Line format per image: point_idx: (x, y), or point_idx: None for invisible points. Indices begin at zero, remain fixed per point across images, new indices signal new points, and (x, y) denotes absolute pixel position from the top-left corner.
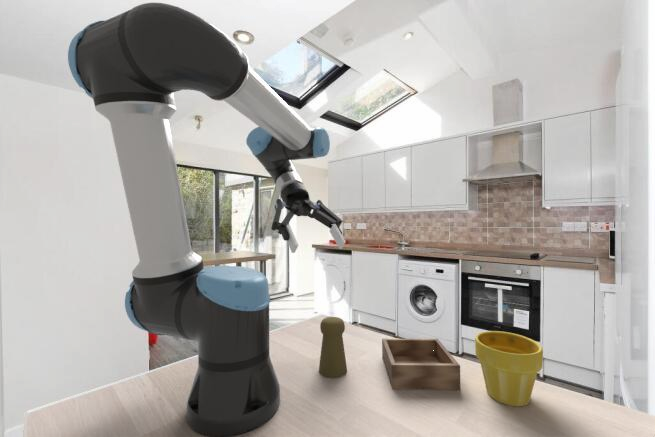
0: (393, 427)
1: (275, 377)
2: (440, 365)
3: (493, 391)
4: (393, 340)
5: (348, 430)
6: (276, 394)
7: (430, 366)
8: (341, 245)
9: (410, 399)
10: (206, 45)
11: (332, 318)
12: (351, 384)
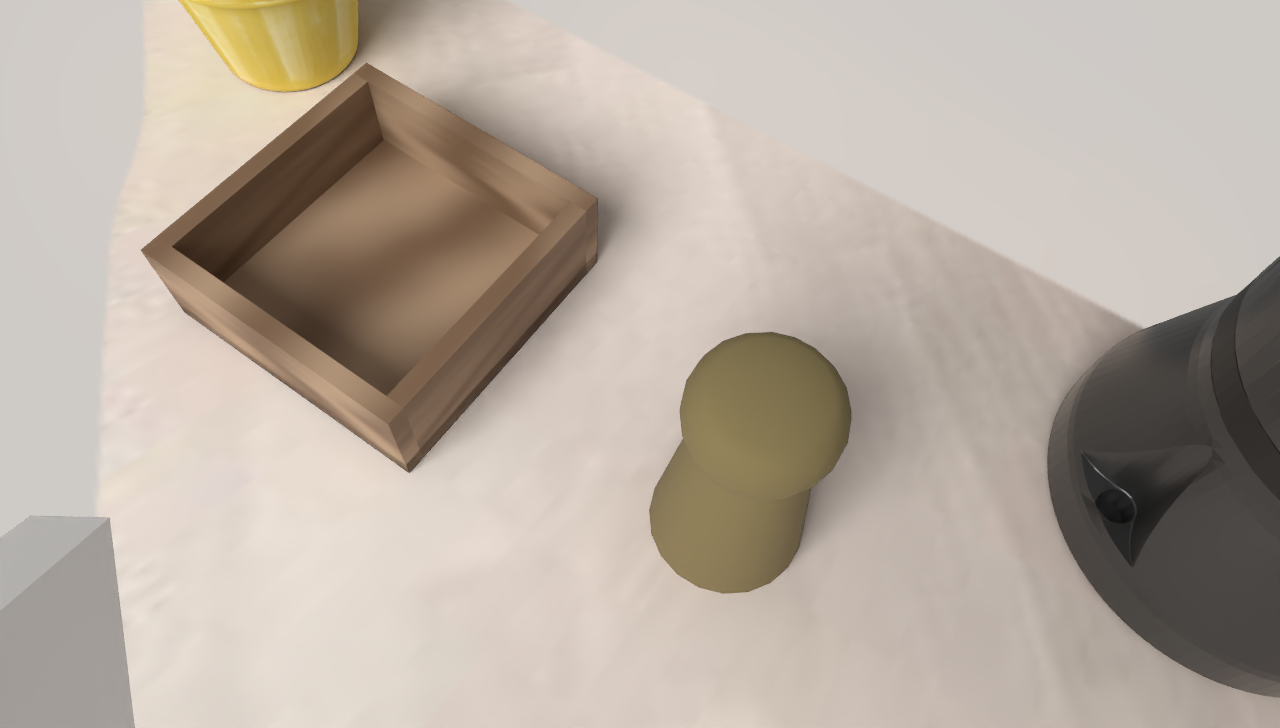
0: (747, 139)
1: (1120, 382)
2: (428, 100)
3: (354, 32)
4: (352, 374)
5: (877, 195)
6: (1102, 361)
7: (463, 122)
8: (122, 635)
9: (589, 191)
10: None
11: (775, 387)
12: None
